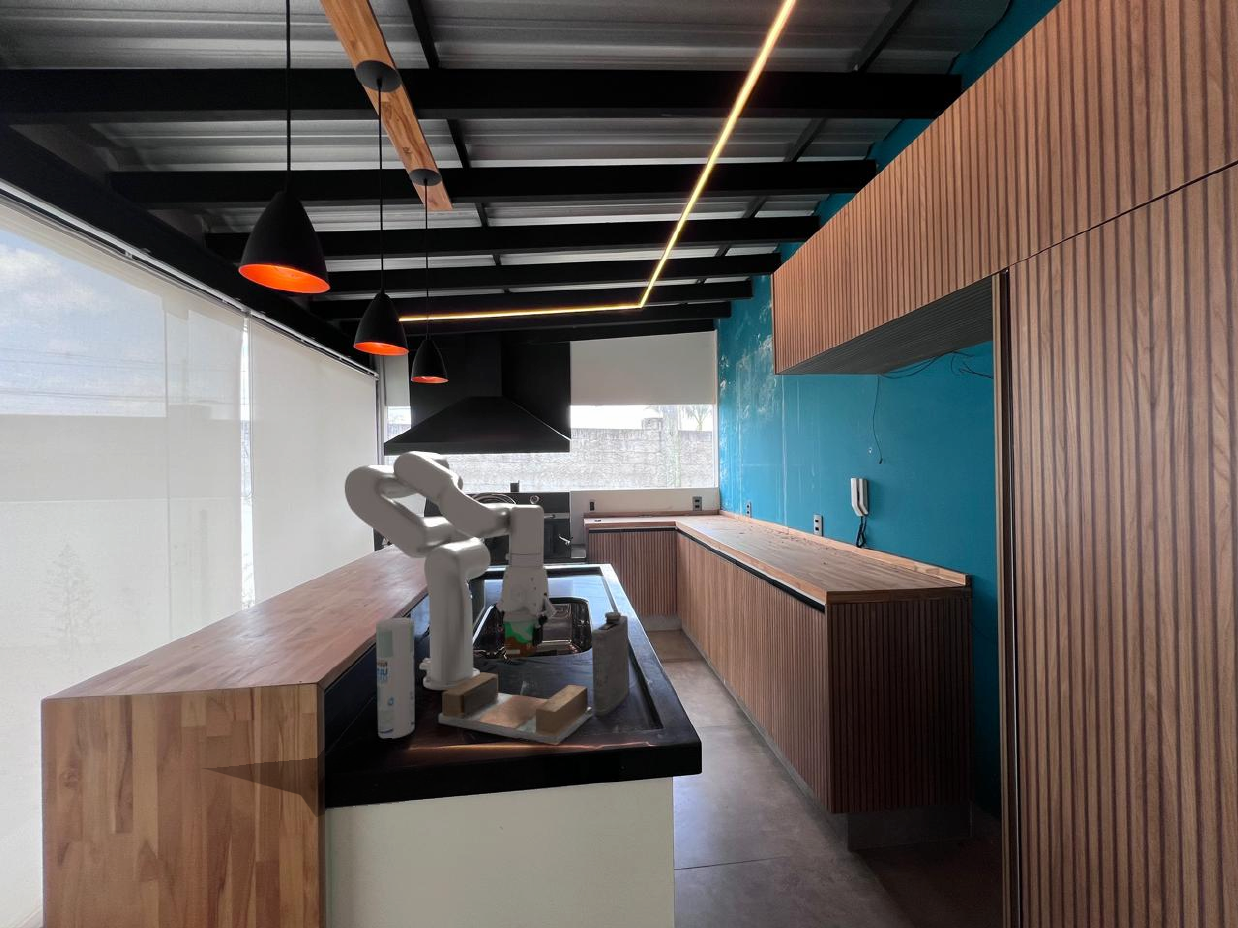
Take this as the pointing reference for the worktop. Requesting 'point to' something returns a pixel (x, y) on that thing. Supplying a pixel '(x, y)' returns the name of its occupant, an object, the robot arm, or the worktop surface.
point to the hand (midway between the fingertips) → (525, 641)
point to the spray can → (395, 677)
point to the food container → (519, 633)
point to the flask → (610, 663)
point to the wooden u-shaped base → (514, 710)
